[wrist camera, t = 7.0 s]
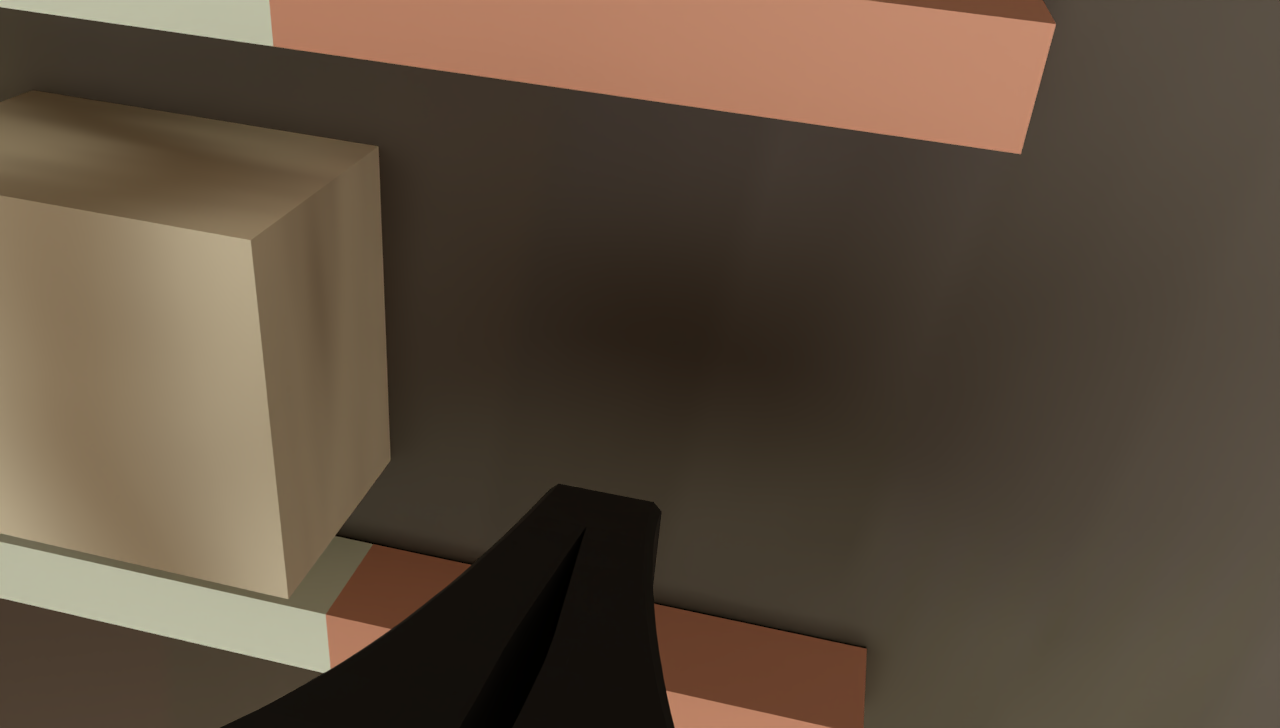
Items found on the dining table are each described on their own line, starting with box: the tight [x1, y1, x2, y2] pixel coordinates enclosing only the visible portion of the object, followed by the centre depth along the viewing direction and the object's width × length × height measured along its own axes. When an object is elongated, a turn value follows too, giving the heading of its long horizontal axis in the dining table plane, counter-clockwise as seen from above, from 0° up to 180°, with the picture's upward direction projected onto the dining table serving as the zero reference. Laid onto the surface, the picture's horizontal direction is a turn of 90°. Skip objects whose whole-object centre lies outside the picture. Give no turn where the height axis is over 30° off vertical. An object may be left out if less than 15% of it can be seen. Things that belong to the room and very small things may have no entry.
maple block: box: [0, 90, 391, 599], centre depth 17 cm, size 6×6×4 cm
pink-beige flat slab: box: [0, 0, 1056, 728], centre depth 17 cm, size 19×13×2 cm
